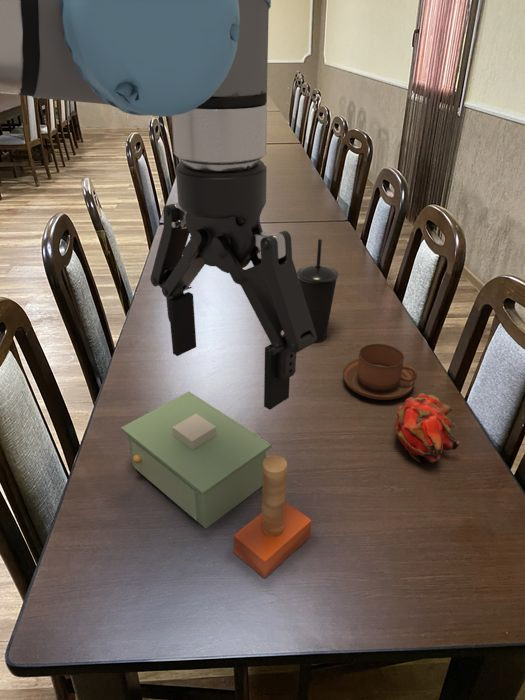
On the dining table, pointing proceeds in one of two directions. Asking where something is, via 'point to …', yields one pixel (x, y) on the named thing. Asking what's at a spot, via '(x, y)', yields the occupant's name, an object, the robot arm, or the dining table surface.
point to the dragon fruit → (425, 427)
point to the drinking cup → (318, 293)
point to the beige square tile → (194, 431)
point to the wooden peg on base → (272, 523)
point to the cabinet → (197, 459)
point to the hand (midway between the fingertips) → (227, 374)
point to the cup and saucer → (380, 373)
